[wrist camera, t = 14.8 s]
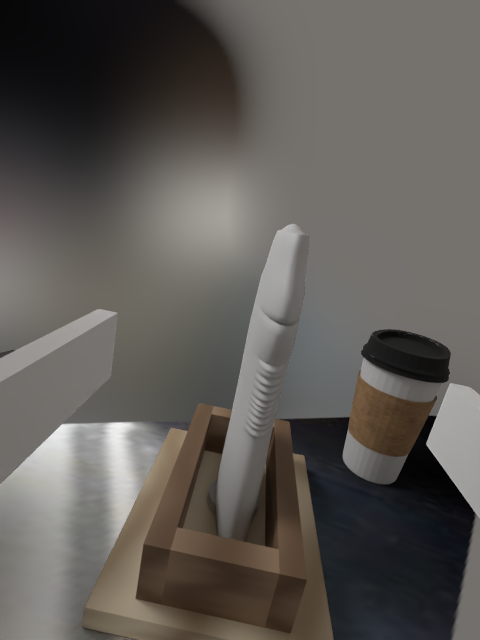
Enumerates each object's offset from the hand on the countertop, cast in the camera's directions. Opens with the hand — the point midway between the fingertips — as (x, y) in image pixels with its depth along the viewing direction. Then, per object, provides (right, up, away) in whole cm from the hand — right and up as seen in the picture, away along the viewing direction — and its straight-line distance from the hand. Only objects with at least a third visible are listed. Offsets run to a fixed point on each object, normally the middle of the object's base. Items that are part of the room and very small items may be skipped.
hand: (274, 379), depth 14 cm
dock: (-3, -14, +14) cm, 20 cm away
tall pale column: (-2, -13, +15) cm, 19 cm away
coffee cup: (+13, -14, +26) cm, 32 cm away
